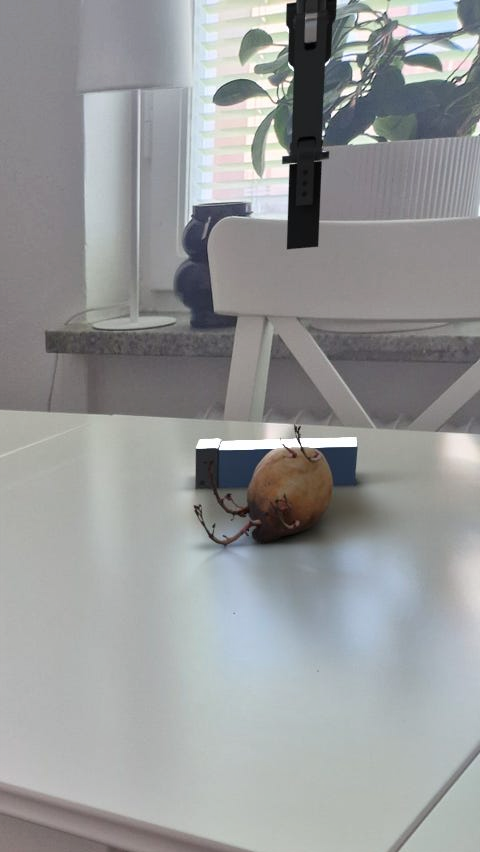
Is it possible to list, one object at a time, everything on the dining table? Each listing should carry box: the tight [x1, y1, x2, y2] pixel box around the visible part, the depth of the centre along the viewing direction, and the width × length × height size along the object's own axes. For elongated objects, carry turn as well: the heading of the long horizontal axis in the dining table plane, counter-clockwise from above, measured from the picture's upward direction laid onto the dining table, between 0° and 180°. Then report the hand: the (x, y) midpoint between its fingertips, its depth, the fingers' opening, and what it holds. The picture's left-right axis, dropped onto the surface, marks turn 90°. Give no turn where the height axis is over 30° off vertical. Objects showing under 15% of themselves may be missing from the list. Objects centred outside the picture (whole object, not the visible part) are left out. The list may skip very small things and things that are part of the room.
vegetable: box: [192, 423, 334, 548], centre depth 93 cm, size 16×11×10 cm
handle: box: [194, 437, 359, 490], centre depth 105 cm, size 14×4×4 cm, turn 76°
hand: (302, 247), depth 103 cm, fingers closed
